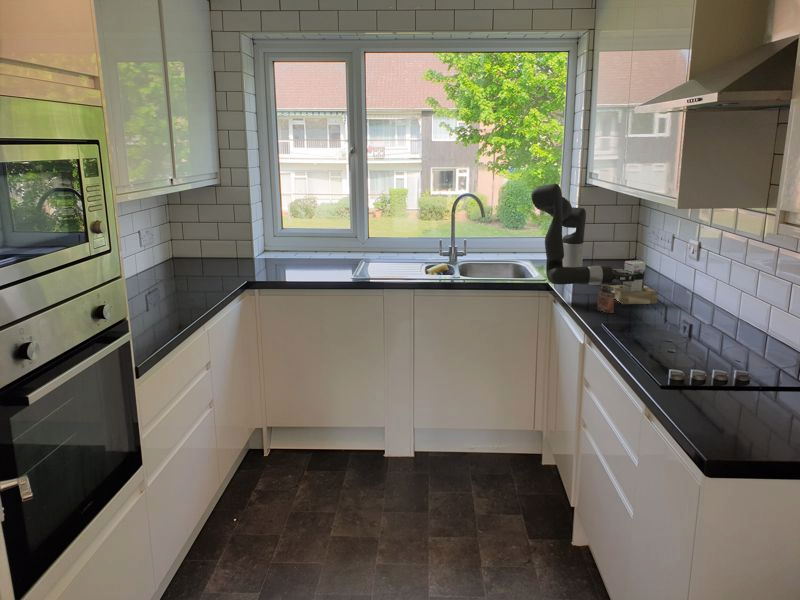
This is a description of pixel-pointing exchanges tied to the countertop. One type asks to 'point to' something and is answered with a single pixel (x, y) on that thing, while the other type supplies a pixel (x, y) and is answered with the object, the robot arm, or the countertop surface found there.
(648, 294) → the collar
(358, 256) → the countertop surface
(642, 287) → the syrup box
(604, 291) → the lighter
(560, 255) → the robot arm
